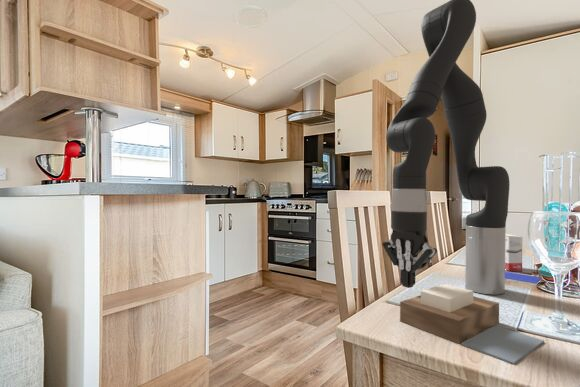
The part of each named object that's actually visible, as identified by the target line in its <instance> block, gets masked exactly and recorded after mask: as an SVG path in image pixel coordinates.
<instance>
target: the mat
mask: <svg viewBox="0 0 580 387" xmlns="http://www.w3.org/2000/svg"><path fill="white" fill-rule="evenodd" d="M544 343H545V340H544V339H541V338H538V337H534V336H530V335H528V334H525V333H521V332H518V331H515V330H512V329H509V328H505V327H502V326H498V325H497V324H495V325H493V326H491V327H489V328H487V329H486V330H484V331H482V332H480V333H478V334H476V335H474V336H472V337H470V338H468V339H466V340H464V341H463V342H461V345H462V346H464V347H466V348H469V349H472V350H475V351H477V352H480V353H482V354H485V355H488V356H490V357H493V358H496V359H498V360H501V361H504V362H506V363H508V364H511V365H515V364H517V363H518V362H520V360H522V359H523V358H525V357H526V356H528V355H529V354H530V353H532V352H534V351H535V349H537V348H538V347H539V346H541V345H543V344H544Z"/></svg>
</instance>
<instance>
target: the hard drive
mask: <svg viewBox="0 0 580 387" xmlns="http://www.w3.org/2000/svg"><path fill="white" fill-rule="evenodd" d="M540 277H541V276H535V275H528V274H522V273H516V272H512V271H505V281H508V282H514V283H520V284H525V285H530V286H531V285H533V286H536V287H537V286H538V285H539V284H540V283H539V281H540V280H541V278H540ZM538 283H539V284H538ZM537 284H538V285H537Z"/></svg>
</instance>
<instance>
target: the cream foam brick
mask: <svg viewBox="0 0 580 387" xmlns="http://www.w3.org/2000/svg"><path fill="white" fill-rule="evenodd" d="M420 295H421V304H424V305H427V306H430V307H434V308H437V309H440V310H443V311H446V312H452V311H455V310H457V309H460V308H462V307H465V306H467V305H470V304H472V303H473V296H474V291H472V290H468V289H467V288H463V287H459V286H454V285H452V284H451V285H450V284H447V283H444V284H440V285H436V286H433V287H430V288H426V289H423V290H420Z"/></svg>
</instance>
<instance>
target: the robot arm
mask: <svg viewBox="0 0 580 387" xmlns="http://www.w3.org/2000/svg"><path fill="white" fill-rule="evenodd" d="M476 22H477V12H476V8H475V6H474V3H473V2H472V1H471V0H448V1H447V2H444V3H443V4H441V5H439V6H437V7H435V8H433V9H432V10H430V11H429V12H427V13H426V14H424V16H423V17H422V19H421V25H420V26H421V35H422V39H423V42H424V46H425V49H426V52H427V54H428V57H429V58H427V59H426V61H424V63H423V65H422V66H421V67H420V68H419V70H418V71H417V73H416V74H415V76H414V78H413V80H412V82H411V85H410V88H409V90H408V93H407V95H406V98H405V101H404V102H403V104H402V105H401V107H400V108H399V110H398V111H397V112H396V114H395V115H394V117H393V118H392V120H391V122H390V123H389V125H388V128H387V129H386V130H387V131H386V134H385V135H386V136H385V139H386V140H385V141H386V144H387V147H388V149H390V150H391V151H392V152H393V153H397V154H398V153H401V154H402V153H407V155H406V157H405V159H404V160H403V161H401V162H398V163H396V164H395V165H394V166H393V167H392V168H393V169H392V193H391V201H390V202H391V203H390V204H391V205H390V206H391V207H390V211H391V212H390V215H391V216H390V228H391V230H392V232H391V234H390V239H388V240H387V241H384V242H382V247H383V249H384V251H385V252H386V255H387V256H388V258H389V259H390V262H391V263H392V264H393V266H397V267H398V268H399V270H400V283H401V286H402V287H405V288H407V289H411V288H413V287H414V286H415V285H416V271H419V270H422V269H424V268H425V267H426V266H427V265H428V264H429V263H430V261H431V260H432V259H433V258H434V257H435V255H436V254H437V253H438V249H437V248H436V247H432V246H431V245H430V244H429V243H428V238H427V235H426V233H427V229H428V227H427V226H428V224H427V221H428V220H427V219H428V218H427V217H428V196H427V169H428V165H429V163H430V159H431V156H432V152H433V149H434V146H435V142H436V130H435V127H434V124H433V123H432V121H431V120H430V119H428V118H429V117H431V116H432V115H434V113H435V112H436V111H437V108H438V105H439V102H440V99H441V103H442V107H443V113H444V115H445V120H446V124H447V128H448V129H449V131H448V132H449V135H450V139H451V143H452V148H453V153H454V160H455V166H456V173H457V180H458V182H457V183H458V186H459V187H458V188H459V190H460V193H461V195H462V196H463V198H465V200H468V201H475V202H476V201H478V202H479V201H480V202H484V203H485V204H484V207H482V209H480V210H479V211H476V212H473V213H469V214H468V215H466V216H465V271H464V272H465V273H464V274H465V275H464V276H465V277H464V278H465V280H464V283H465V285H464V286H465V289H468V290H472V291H473V293H474V292H475V293H477V294H478V293H479V294H484V295H492V296H494V295H503V294H505V293H506V280H505V272H506V270H505V241H506V239H505V236H506V234H507V232H506V229H507V228H506V227H507V226H506V224H507V219H508V218H507V217H508V214H509V213H508V212H509V198H510V175H509V173H508V170H507V169H506V168H505V167H503V166H498V165H497V166H495V165H493V166H490V165H489V166H478V165H477V161H476V147H477V143H478V141H479V139H480V136H481V134H482V132H483V129H484V127H485V125H486V121H487V110H486V104H485V100H484V99H485V98H484V95H483V92H482V90H481V87H480V86H479V85H478V84H477V83H476V81H475V80H473V78H472V77H470V76H469V75H468V74H466V72H464V71H463V69H461V68H460V67H459V66H460V65H458V64H457V61H458V59H459V57H460V55H461V54H462V52H463V50H464V49H465V46H466V45H467V43H468V41H469V39H470V38H471V35H472V33H473V32H474V29H475V26H476ZM420 253H421V255H420Z"/></svg>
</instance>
